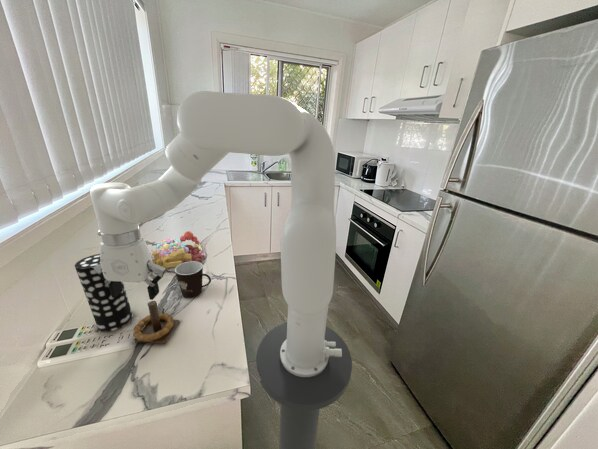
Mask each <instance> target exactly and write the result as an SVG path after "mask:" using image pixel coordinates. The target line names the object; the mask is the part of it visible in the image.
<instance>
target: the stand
mask: <svg viewBox="0 0 598 449" xmlns="http://www.w3.org/2000/svg"><path fill="white" fill-rule="evenodd" d="M147 306H148V311H149V315H150V317H151V322H149V323H148V324H146V325H145V326H144V327H143V328H142V329H141V332H142V333H143V334H152V333H155V332H158V331H160V330H161V329H163V328H164V327H165V325H166V321H164V320H160V317H159V313H160V311H159V307H158V302H157V301H156V300H151V301H149V302H148V303H147ZM173 322H174V325H173V327H172V328H171V330H170V331H169V332H168V333H167V334H166V335H164V336H163V337H161V338H159V339H156V340H153V341H150V342H145V341H138V340H137V339H136V338H135V337H134V340H133V341H134V343H135V344H149V345H151V344H152V345H166V344H167V342H168V341H169V339H170V337H171V336H172V334H173V333H174V331H175V329H176V328H177V327H178V325H179V323H180V319H177V318H176V319H174V318H173Z"/></svg>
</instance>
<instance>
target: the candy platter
mask: <svg viewBox="0 0 598 449" xmlns="http://www.w3.org/2000/svg"><path fill="white" fill-rule="evenodd" d="M186 241H191V242H193V243H185V242H186ZM203 252H204V250H203V247H202V245H201V244H200V240H199V239H198V237H197V236H196V235H194V233H193V232H192V231H189V230H188V231H185V232H184V233H183V235H181V236H180V237H179V238H176V239H172V238H171V237H168V238H166V239H163V240H161V242H159V243H157V244H156V250H154V251H153V249H151V251H150V254H151V258H152V262H153V263H155V264H157V265H159V266H161V267H163V268H165V269H166V271H168V272H175V268H176V267H177V266H178V265H180V264H182V263H184V262H189V261H197V262H200V263H202V262H201V260H205V255H204V253H203ZM153 273H154V274H157V273H156V272H155V271H154V272H153Z"/></svg>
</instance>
